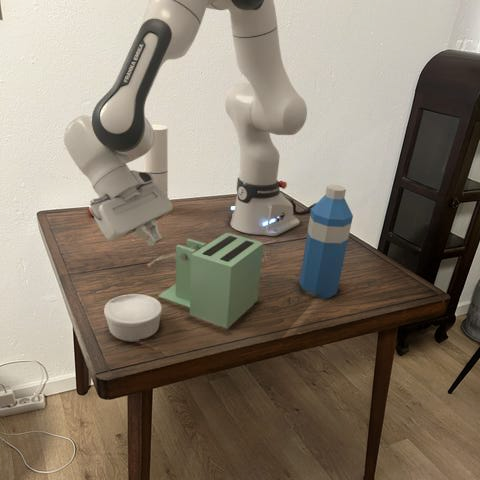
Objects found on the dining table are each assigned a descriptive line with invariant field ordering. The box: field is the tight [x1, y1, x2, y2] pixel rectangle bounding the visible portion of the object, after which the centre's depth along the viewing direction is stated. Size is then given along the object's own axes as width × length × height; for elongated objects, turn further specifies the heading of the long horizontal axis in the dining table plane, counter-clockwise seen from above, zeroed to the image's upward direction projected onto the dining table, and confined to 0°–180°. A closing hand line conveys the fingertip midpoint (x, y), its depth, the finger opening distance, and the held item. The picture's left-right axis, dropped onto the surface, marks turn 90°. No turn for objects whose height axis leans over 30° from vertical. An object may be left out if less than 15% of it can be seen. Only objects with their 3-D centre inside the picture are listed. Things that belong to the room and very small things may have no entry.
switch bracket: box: [157, 238, 207, 309], centre depth 108 cm, size 11×9×13 cm
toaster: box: [188, 232, 265, 330], centre depth 104 cm, size 9×14×15 cm, turn 152°
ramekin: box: [103, 293, 163, 343], centre depth 98 cm, size 11×11×5 cm
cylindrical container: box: [142, 123, 169, 198], centre depth 149 cm, size 7×7×25 cm
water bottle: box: [298, 184, 354, 299], centre depth 113 cm, size 9×9×25 cm
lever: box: [146, 244, 199, 269], centre depth 108 cm, size 12×5×2 cm, turn 61°
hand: (157, 242), depth 109 cm, fingers closed
